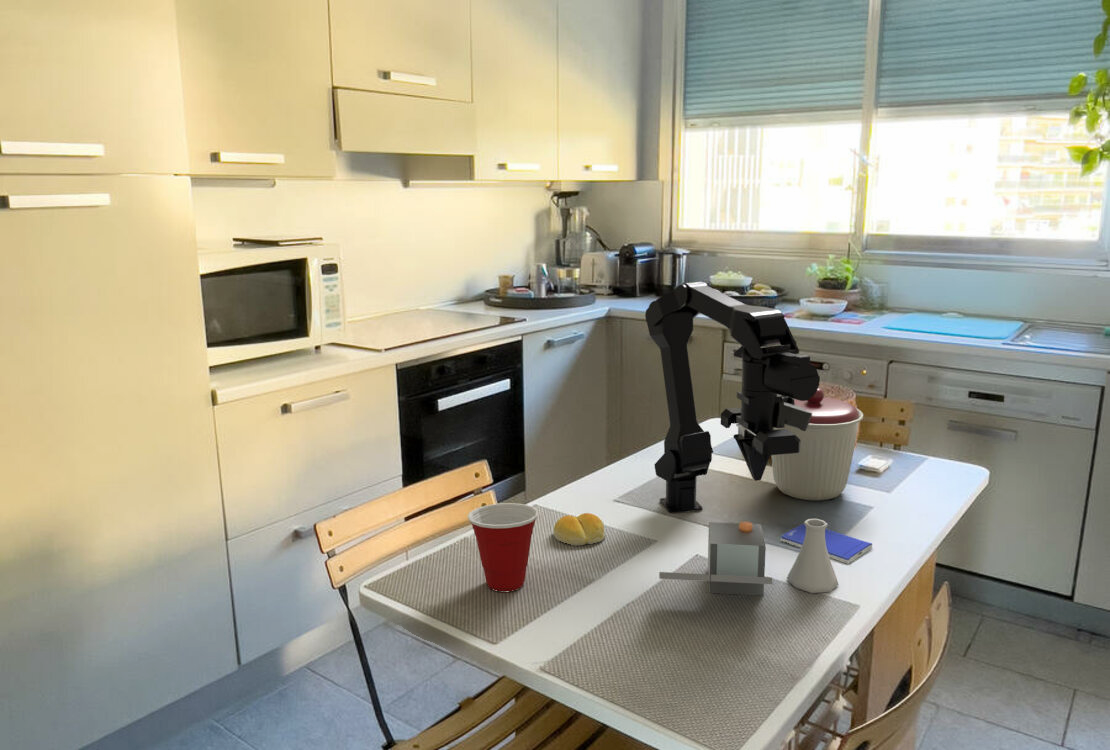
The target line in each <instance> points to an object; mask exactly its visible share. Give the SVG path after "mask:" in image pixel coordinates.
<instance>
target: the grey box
mask: <svg viewBox="0 0 1110 750" xmlns="http://www.w3.org/2000/svg"><path fill="white" fill-rule="evenodd" d="M764 536H765V535H764V533H763V527H762V524H759V523H752V522H750V521H745V520H744V521H740V522H719V521H717V522H716V521H715V522H714V521H708V540H707V542H708V545H707V548H708V549H707V574H710V575H731V576H751V577H765V573H766V572H765V571H766V552H767V551H766V547H767V545H766V541H765V537H764ZM707 582H708V591H709V592H708V593H709V594H724V595H725V594H726V595H727V594H728V595H744V596H746V595H748V596H761V597H764V591H765V584H752V583H732V582H713V581H707Z"/></svg>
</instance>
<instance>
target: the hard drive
mask: <svg viewBox="0 0 1110 750" xmlns="http://www.w3.org/2000/svg"><path fill="white" fill-rule="evenodd" d="M805 534H806V526H805V525H804V522H803V523H802V524H800V525H798V526H796V527H794V528H792V529H790V530H789V531H787V532H785V533H783V534H782V535H781V537H780V542H782V541H783V543H785V542H787V543H786V544H788V543H789V545H792V546H794V545H795V546H794V547H797V548H800V549H801V548H802V545H803V542H804V538H805ZM825 541H826V548H827V551H828V554H829V557H830V559H833V560H837V561H839V562H842V563H845V564H851V562H852V561H854V560H856V559H857V557H858V558H859V557H861V556H862V555H863V554H865V553H867V552H868V551H870V550H871V549H873V543H872V542H869V541H864V540H861V539H859V538H855V537H852V536H849V535H846V534H843V533H840V532H836V531H833V530H830V529H828V528H825ZM869 549H870V550H869ZM866 551H867V552H866ZM860 555H861V556H860Z"/></svg>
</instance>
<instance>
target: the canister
mask: <svg viewBox="0 0 1110 750" xmlns="http://www.w3.org/2000/svg"><path fill="white" fill-rule="evenodd" d="M794 404H795V405H797V406H799V407H801V408H804V409H805V410H807V411H809V412H811V413H812V416H811V419H810V422H809V424H808V427H807V429H806V431H802V430H800V429H799V428H796V427H793V426H790V425H786V424H785V426H784V428H774V430H781V429H787V430H788V431H790V432H791V433H793V434H795V435H796V436H797V437H798V438H799V439H800V440H801V447H800V452H799V453H792V454H780V455H770V457H771V465H772V476H773V480H774V484H775V486H776V487H777V489H779V491H781V492H782V493H783V494H785V495H787V496H789V497H791V498H792V497H793V498H796V499H798V500H799V499H800V500H805V501H826V500H830V499H831V500H832V499H834V498H837V497H838V496H840V495H841V494H842V493H843V491H845V488H846V487H847V484H848V479H849V476H850V471H851V467H852V462H853V456H854V451H855V445H856V441H857V435H858V430H859V424H860V422H861V421H862V420H863V419H864V413H863V411H861V410H860V409H858V408H857V407H855V406H854V405H853V404H851V403H849V402H847V401H845V400H843V399H841V400H840V399H837V398H835V397H834V398H833V397H826V396H825V393H824V390H822V388H819V387H818V389H817V391H816V393H815V394H814V396H813V397H811V398H810V399H808V400H806V401H799V400H796V399H794Z"/></svg>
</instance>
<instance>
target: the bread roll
mask: <svg viewBox="0 0 1110 750" xmlns="http://www.w3.org/2000/svg"><path fill="white" fill-rule="evenodd" d="M553 536H554V538H555V539H556V540H557V541H559V542H560V541H561V542H560V543H562V542H563V544H565V543H567V544H566V545H568V544H571V545H570V546H583V545H586V544H588V545H594V544H593V543H595V544H598V543H600V542H603V540H604V539H605V538H606V533H605V524H604V522H603V520H602V519H601V518H600V517H599V516H598V515H596V514H593V513H589V512H585V513H581V514H579V515H578V516H574V515H564V516H562V517H561V518H559V519H558V520H557V521H556V523H555V524H554V527H553ZM597 542H598V543H597Z"/></svg>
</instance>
